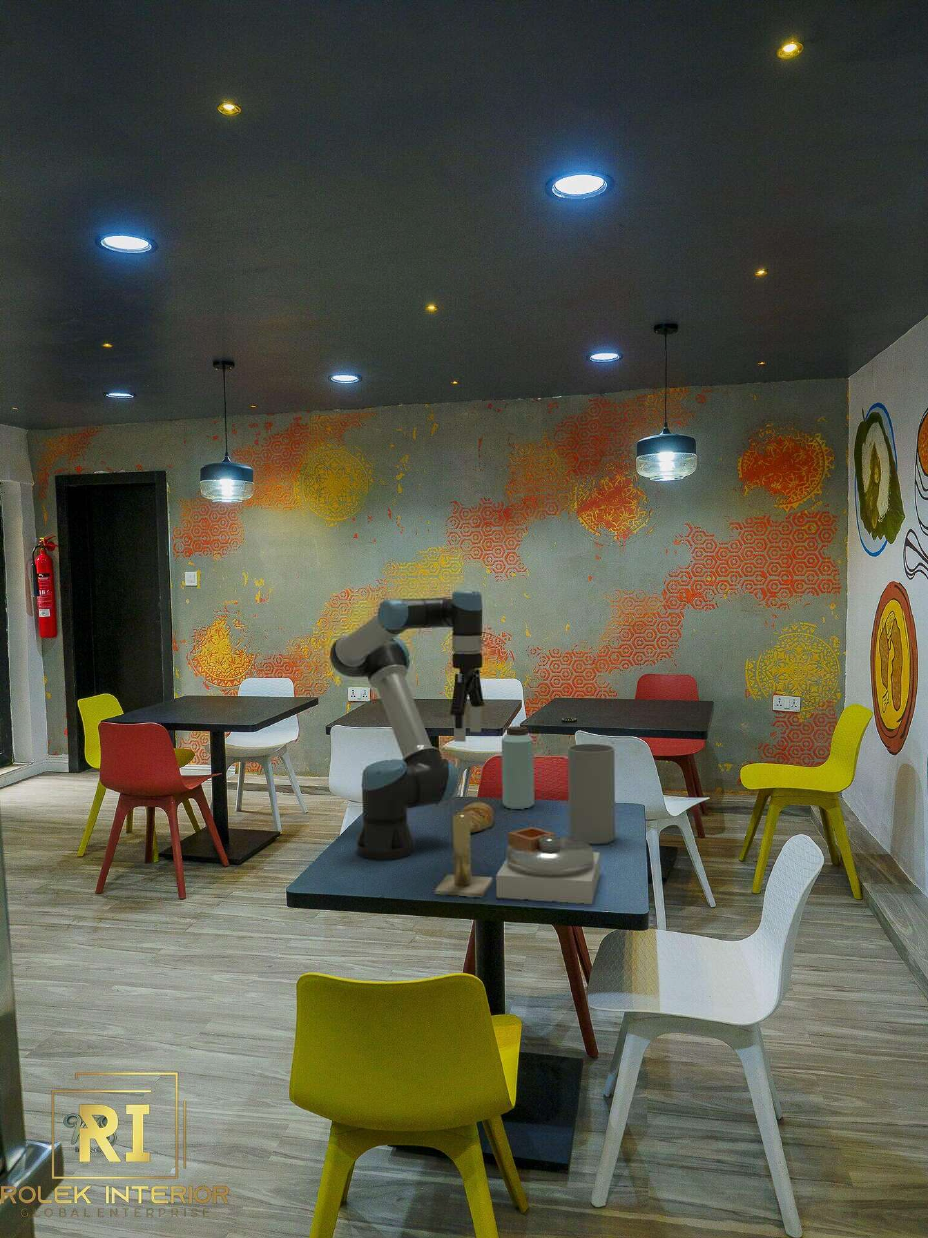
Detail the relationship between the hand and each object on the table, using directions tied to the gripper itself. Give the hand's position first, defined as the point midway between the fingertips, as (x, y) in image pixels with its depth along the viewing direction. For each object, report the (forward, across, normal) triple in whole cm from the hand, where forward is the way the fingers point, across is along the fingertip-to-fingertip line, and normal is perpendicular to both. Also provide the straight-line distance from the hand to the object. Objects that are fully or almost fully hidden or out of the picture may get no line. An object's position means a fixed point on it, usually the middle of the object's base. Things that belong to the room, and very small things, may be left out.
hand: (467, 736), depth 215 cm
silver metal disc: (+26, -12, -23) cm, 37 cm away
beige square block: (+31, -13, -24) cm, 41 cm away
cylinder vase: (+32, +27, -27) cm, 50 cm away
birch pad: (+31, -20, -5) cm, 37 cm away
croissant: (+32, +32, +7) cm, 46 cm away
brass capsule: (+30, -20, -4) cm, 37 cm away
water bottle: (+32, +56, 0) cm, 65 cm away
